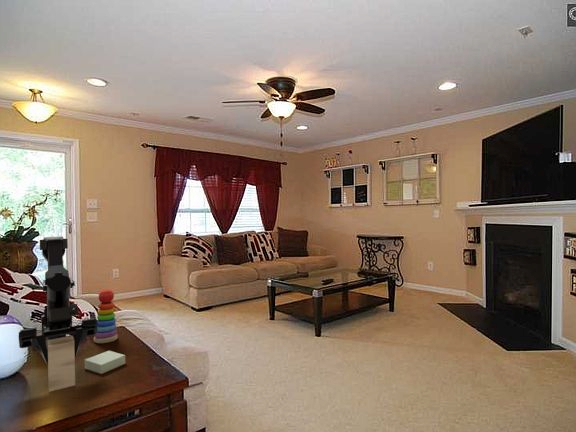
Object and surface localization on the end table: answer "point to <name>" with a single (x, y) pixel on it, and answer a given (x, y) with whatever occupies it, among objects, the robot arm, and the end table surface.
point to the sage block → (104, 362)
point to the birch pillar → (61, 363)
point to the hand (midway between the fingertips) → (61, 360)
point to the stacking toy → (106, 319)
